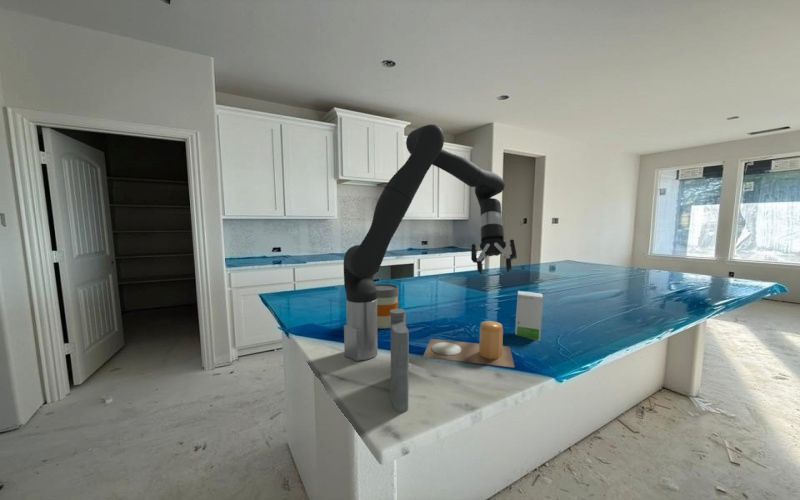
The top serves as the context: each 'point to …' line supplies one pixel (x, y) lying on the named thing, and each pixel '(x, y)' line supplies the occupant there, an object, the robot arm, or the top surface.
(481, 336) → the cap
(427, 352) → the post board
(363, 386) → the top surface
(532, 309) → the skincare box
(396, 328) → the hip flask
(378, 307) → the reusable coffee cup
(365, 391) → the top surface
